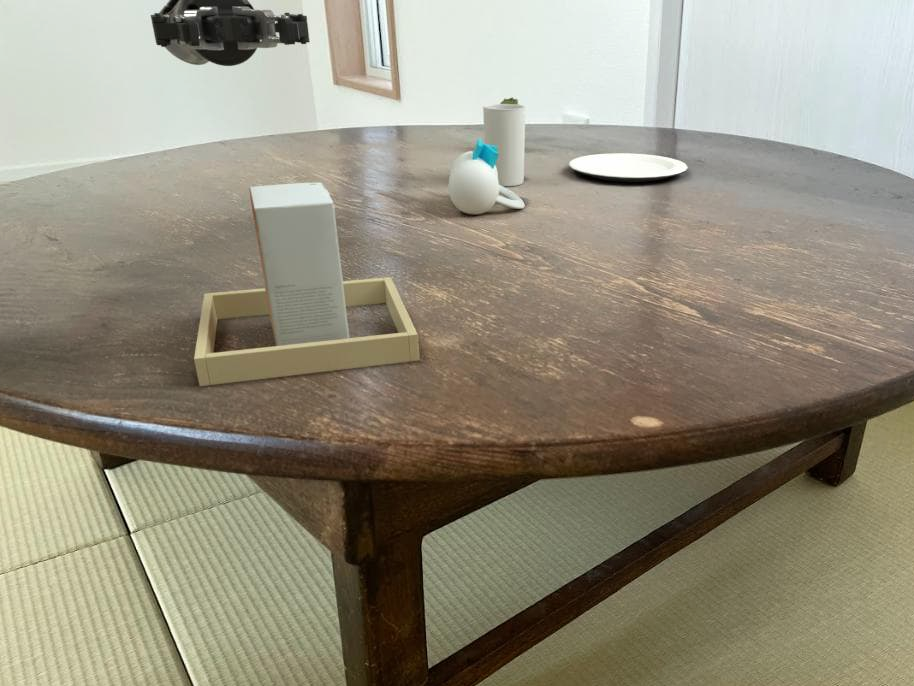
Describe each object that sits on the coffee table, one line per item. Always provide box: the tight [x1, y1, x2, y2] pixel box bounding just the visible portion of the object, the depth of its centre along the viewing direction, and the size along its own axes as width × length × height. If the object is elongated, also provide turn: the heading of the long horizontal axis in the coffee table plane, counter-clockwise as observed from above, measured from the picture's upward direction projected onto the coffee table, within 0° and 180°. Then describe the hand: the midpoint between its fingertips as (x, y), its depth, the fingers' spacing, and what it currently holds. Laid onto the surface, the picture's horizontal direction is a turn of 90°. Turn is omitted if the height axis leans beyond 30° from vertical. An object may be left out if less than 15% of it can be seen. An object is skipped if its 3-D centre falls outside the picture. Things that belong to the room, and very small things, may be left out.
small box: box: [248, 182, 350, 346], centre depth 69 cm, size 8×6×13 cm
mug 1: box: [482, 103, 526, 187], centre depth 131 cm, size 10×7×12 cm, turn 24°
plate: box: [568, 152, 688, 183], centre depth 140 cm, size 21×21×2 cm
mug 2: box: [447, 138, 526, 216], centre depth 116 cm, size 12×9×12 cm
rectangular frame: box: [193, 276, 420, 387], centre depth 72 cm, size 18×16×3 cm
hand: (242, 32), depth 73 cm, fingers open, 8 cm apart
